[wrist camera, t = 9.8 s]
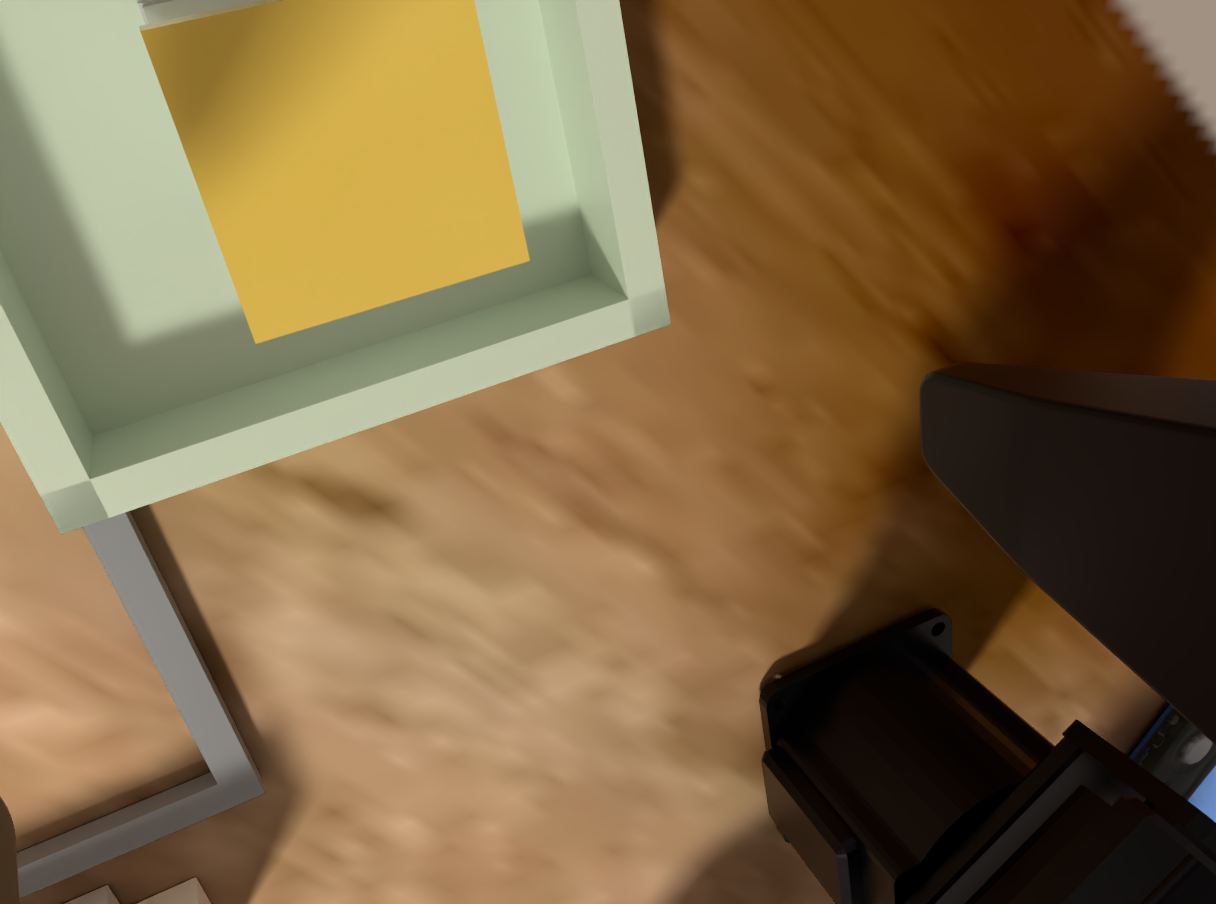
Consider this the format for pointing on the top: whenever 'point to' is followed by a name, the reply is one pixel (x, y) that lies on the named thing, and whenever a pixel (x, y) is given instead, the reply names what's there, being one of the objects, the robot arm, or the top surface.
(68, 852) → the headphones
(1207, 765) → the handheld game console
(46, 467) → the tray
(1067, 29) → the top surface
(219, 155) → the yellow-capped grey block
